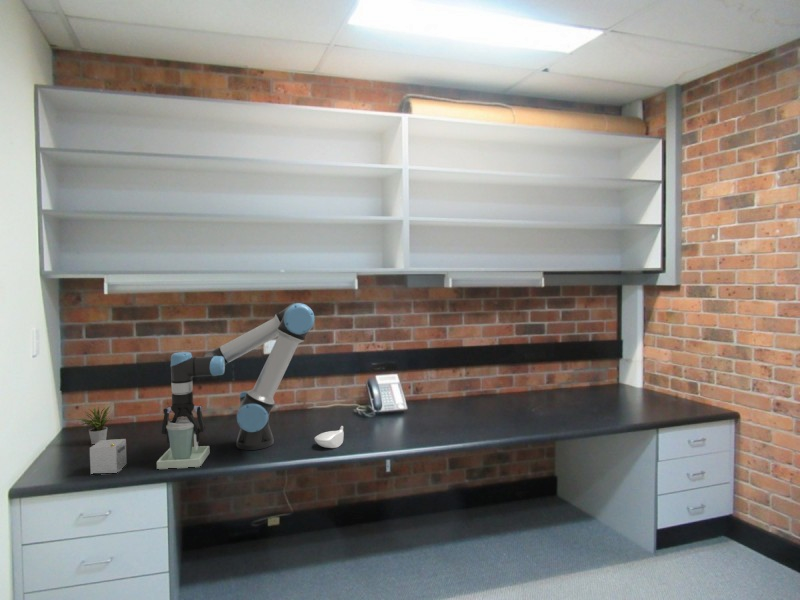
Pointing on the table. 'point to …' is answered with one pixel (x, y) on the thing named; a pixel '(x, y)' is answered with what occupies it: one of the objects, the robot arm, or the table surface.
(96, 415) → the house plant
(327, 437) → the golf club head
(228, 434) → the table surface
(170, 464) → the tray
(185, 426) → the disposable coffee cup
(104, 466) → the unit
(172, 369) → the robot arm
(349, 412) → the table surface
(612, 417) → the table surface
